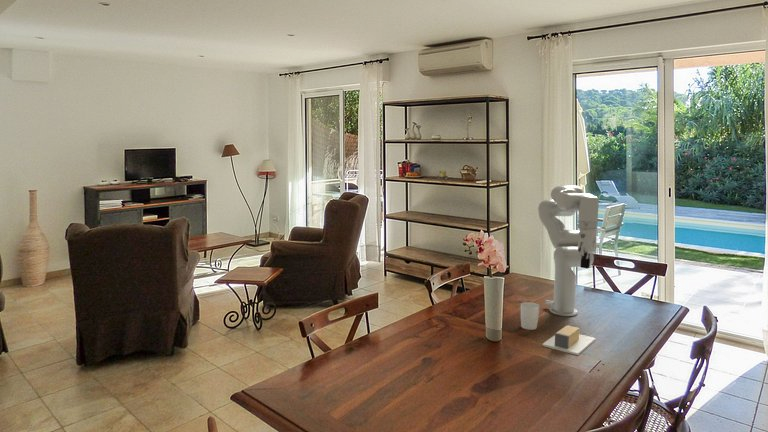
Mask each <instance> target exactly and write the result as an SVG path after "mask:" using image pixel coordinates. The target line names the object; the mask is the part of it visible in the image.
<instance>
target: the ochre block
mask: <svg viewBox="0 0 768 432" xmlns="http://www.w3.org/2000/svg"><path fill="white" fill-rule="evenodd" d="M579 334H580V328H579V327H576V326H572V325H569V324H567V325H565V326H564V327H562V328H561V329H559V330H558V331H556V332H555V334H554V335H555V346H558V347H562V348H565V349H568V348H569V347H570V346H572V345H573V344H574V343H575V342H577V341H578V340H579Z"/></svg>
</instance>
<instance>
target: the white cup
mask: <svg viewBox="0 0 768 432" xmlns="http://www.w3.org/2000/svg"><path fill="white" fill-rule="evenodd" d="M539 315H540V304H538V303H535V302H528V301H526V302H525V301H524V302H521V303H520V327H521V328H522V329H525V330H528V331H529V330H530V331H531V330H536V329H537V328H538V323H539Z"/></svg>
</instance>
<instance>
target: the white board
mask: <svg viewBox="0 0 768 432" xmlns="http://www.w3.org/2000/svg"><path fill="white" fill-rule="evenodd" d="M596 340H597V339H596V337H593V336H588V335H584V334H580V333H579V340H578V341H577V342H575V343H574V344H573V345H572V346H570V347H569V348H568V349H565V348H562V347H558V346H555V334H554V335H552V336H551V337H550V338H548V339H547V340H546V341H545V342H543V343H542V347H545V348H549V349H553V350H557V351H559V352H564V353H568V354H571V355H575V356H579V355H580V354H581V353H582V352H584V351H585V350H586V349H587V348H588V347H589V346H590V345H592V344H593V343H594V342H595V341H596Z"/></svg>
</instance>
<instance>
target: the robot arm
mask: <svg viewBox="0 0 768 432" xmlns="http://www.w3.org/2000/svg"><path fill="white" fill-rule="evenodd" d="M550 197H551V199H544V200H542V201H541V202H540V203H539V204H538V216H539V219H540V222H541V223H542V225H543V227H545V230H546V231H547V234H548V236H549V240H550V242H551V245H552V246H553V248H554V249H555V250H554V251H553V261H554V262H553V263H554V283H553V285H554V287H553V300H550V299H545V305H546V306H550V307H549V312H550V313H551V314H554V315H557V316H561V317H574V316H577V315H578V313H579V311H578V310H577V308H575V305H576V302H575V301H576V289H577V288H576V287H577V275H576V273H575V272H574V270H573V269H572V268H582V269H588V270H589V268H590V267H591V266H592V265H593V264H594V260H595V255H594V251H596V250H597V230H598V222H599V221H598V219H599V218H598V217H599V204H600V203H599V202H600V199H599V197H598V196H596V195H593V194H592V193H584V190H583V189H582V187H580V186H578V185H558V186H555V187H554V188H552V190H551V191H550ZM577 212H578V219H577V220H578V221H577V228H578V230H577V229H576V230H571V229H570V230H569V229H567V228H566V226H565V224H564V222H562V220H560V218H559V217H573V215H575V214H576V213H577ZM557 217H558V218H557Z"/></svg>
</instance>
